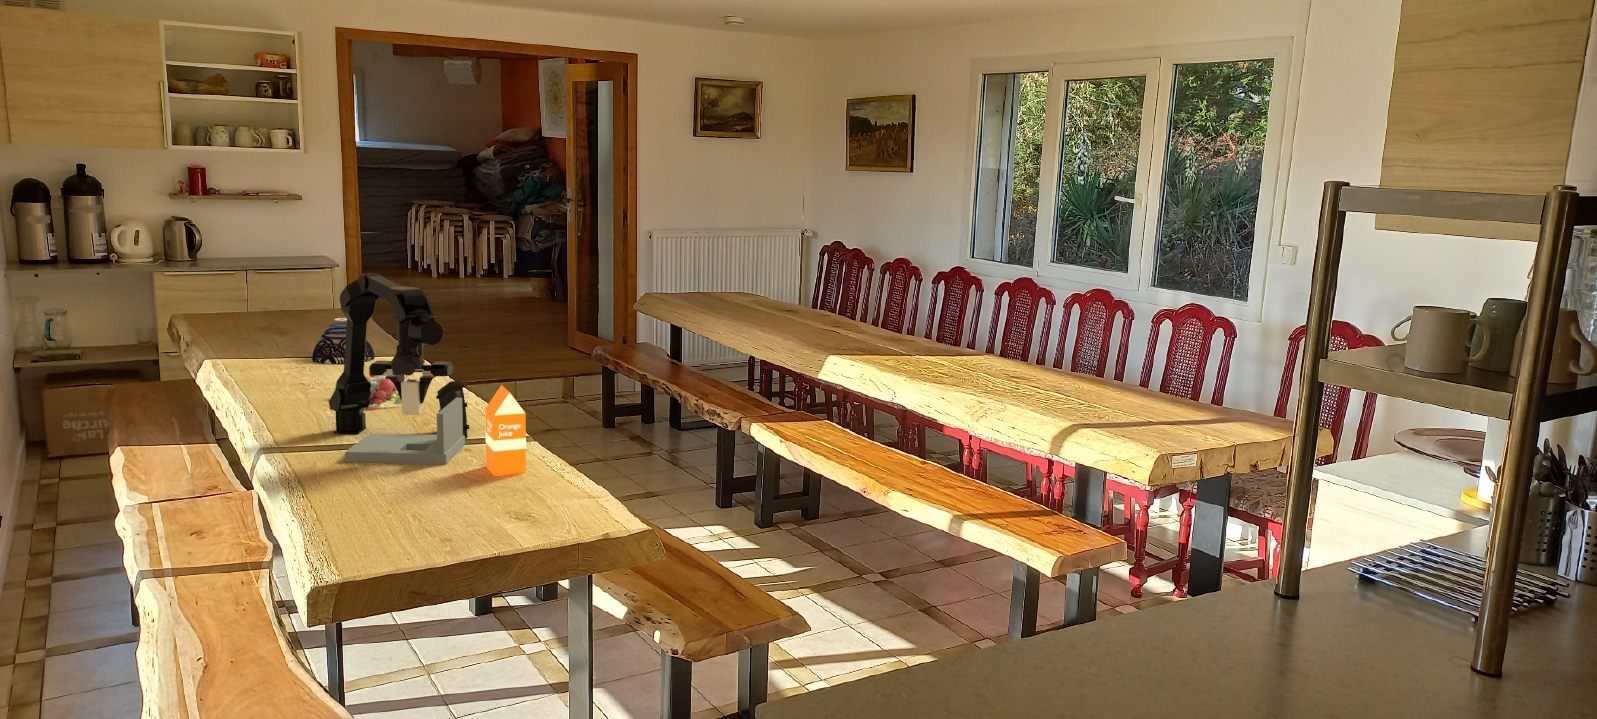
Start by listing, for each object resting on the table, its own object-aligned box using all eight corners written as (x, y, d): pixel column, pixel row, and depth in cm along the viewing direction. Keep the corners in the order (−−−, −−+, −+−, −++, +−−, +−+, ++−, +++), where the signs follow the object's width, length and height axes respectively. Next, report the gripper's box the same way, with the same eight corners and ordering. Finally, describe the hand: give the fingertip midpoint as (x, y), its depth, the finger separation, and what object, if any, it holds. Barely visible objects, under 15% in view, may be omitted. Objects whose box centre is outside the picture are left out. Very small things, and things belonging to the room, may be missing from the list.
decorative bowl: (300, 362, 383) (298, 321, 381) (333, 352, 403) (331, 313, 400) (353, 366, 380) (352, 324, 377) (384, 356, 400) (383, 316, 397)
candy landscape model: (321, 402, 328) (320, 372, 326) (379, 388, 349) (378, 359, 348) (388, 412, 319) (387, 381, 317) (443, 397, 340) (442, 367, 338)
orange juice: (493, 475, 261) (492, 393, 258) (485, 466, 269) (484, 385, 265) (526, 472, 265) (526, 390, 261) (518, 463, 272) (517, 383, 269)
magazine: (460, 436, 288) (449, 381, 291) (443, 447, 298) (432, 393, 301) (474, 434, 291) (463, 379, 293) (456, 445, 301) (446, 392, 303)
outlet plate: (345, 461, 268) (343, 411, 266) (370, 442, 286) (369, 395, 283) (446, 464, 269) (445, 414, 267) (465, 444, 287) (464, 397, 284)
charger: (402, 414, 271) (400, 381, 269) (407, 411, 274) (406, 378, 273) (418, 414, 271) (417, 381, 269) (423, 411, 275) (422, 378, 273)
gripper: (359, 344, 261) (362, 409, 264) (440, 346, 262) (442, 410, 265) (375, 337, 272) (378, 399, 275) (452, 338, 273) (454, 400, 276)
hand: (412, 403), depth 272 cm, fingers closed on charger, 4 cm apart
